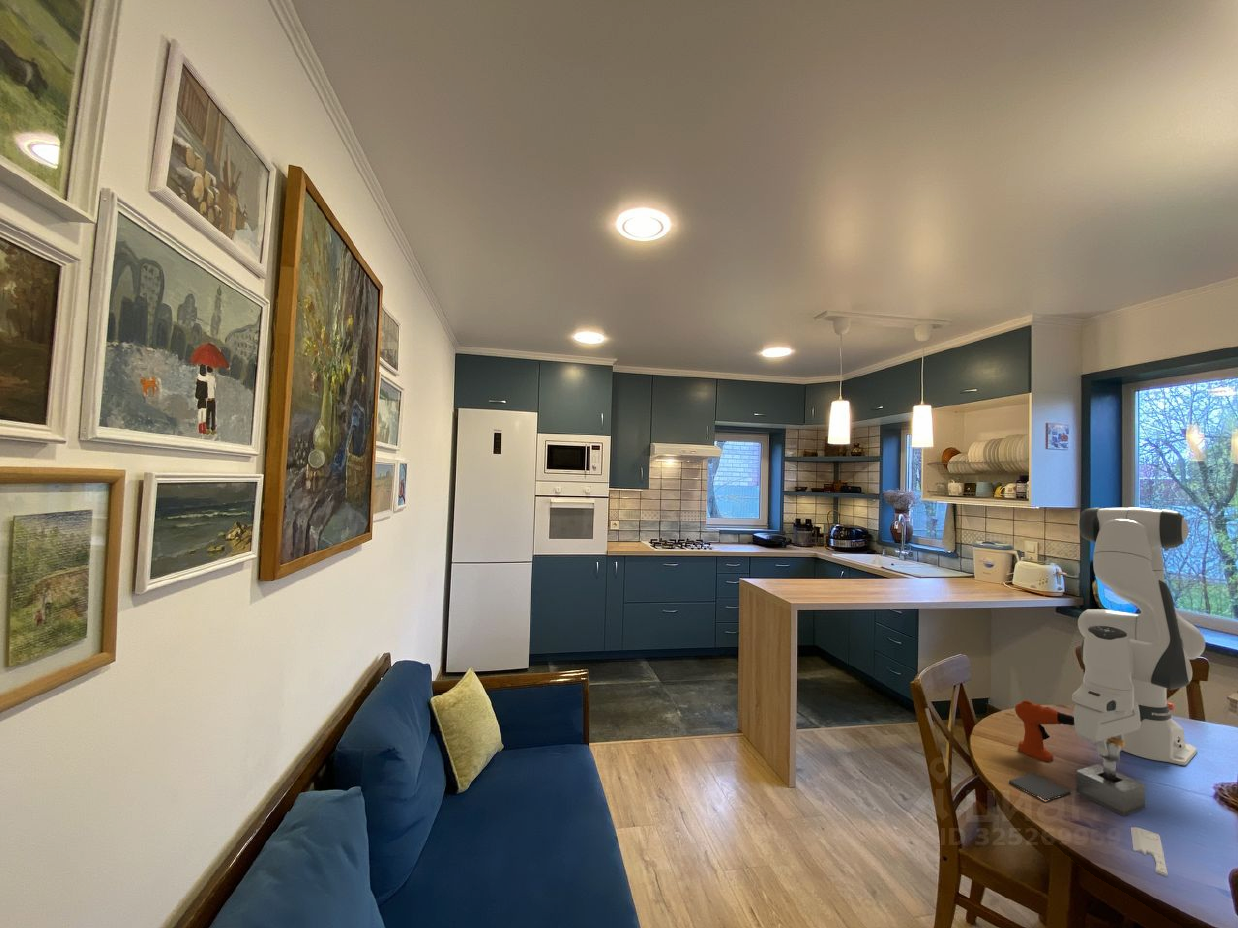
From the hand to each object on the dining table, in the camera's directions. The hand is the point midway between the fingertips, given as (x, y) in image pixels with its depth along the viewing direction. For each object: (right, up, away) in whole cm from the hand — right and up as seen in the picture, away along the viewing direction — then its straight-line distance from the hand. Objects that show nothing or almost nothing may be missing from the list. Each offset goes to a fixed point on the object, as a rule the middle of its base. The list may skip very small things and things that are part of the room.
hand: (1109, 752), depth 121 cm
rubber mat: (-13, -12, +4) cm, 18 cm away
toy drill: (+1, -12, +16) cm, 20 cm away
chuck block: (0, -12, 0) cm, 12 cm away
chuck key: (0, -6, 0) cm, 6 cm away
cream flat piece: (-8, -12, -16) cm, 22 cm away
